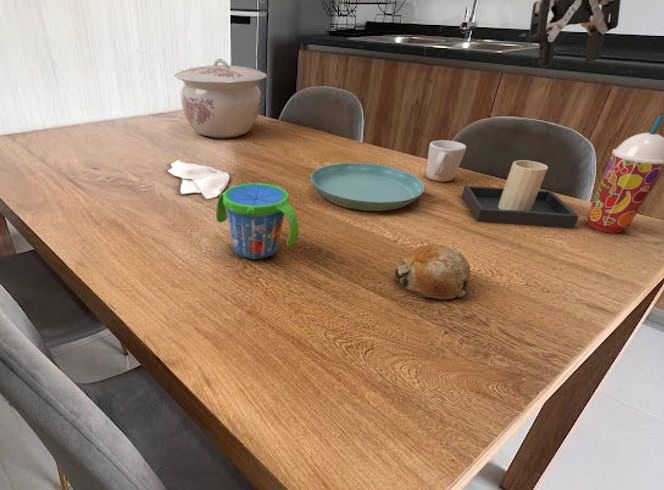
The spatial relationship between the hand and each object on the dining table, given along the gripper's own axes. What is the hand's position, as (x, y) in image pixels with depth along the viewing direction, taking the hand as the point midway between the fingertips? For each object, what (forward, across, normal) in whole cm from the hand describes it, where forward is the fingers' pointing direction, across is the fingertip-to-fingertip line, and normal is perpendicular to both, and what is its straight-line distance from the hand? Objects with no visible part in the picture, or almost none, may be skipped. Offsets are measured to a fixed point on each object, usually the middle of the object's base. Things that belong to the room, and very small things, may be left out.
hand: (568, 64), depth 79 cm
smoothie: (+30, +8, -4) cm, 31 cm away
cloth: (+12, -67, +29) cm, 74 cm away
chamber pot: (+3, -58, +71) cm, 92 cm away
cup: (+20, -11, +23) cm, 33 cm away
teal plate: (+20, -32, +16) cm, 41 cm away
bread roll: (+28, -36, -21) cm, 50 cm away
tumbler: (+25, -5, +4) cm, 26 cm away
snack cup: (+22, -60, -8) cm, 65 cm away
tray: (+26, -5, +4) cm, 27 cm away
